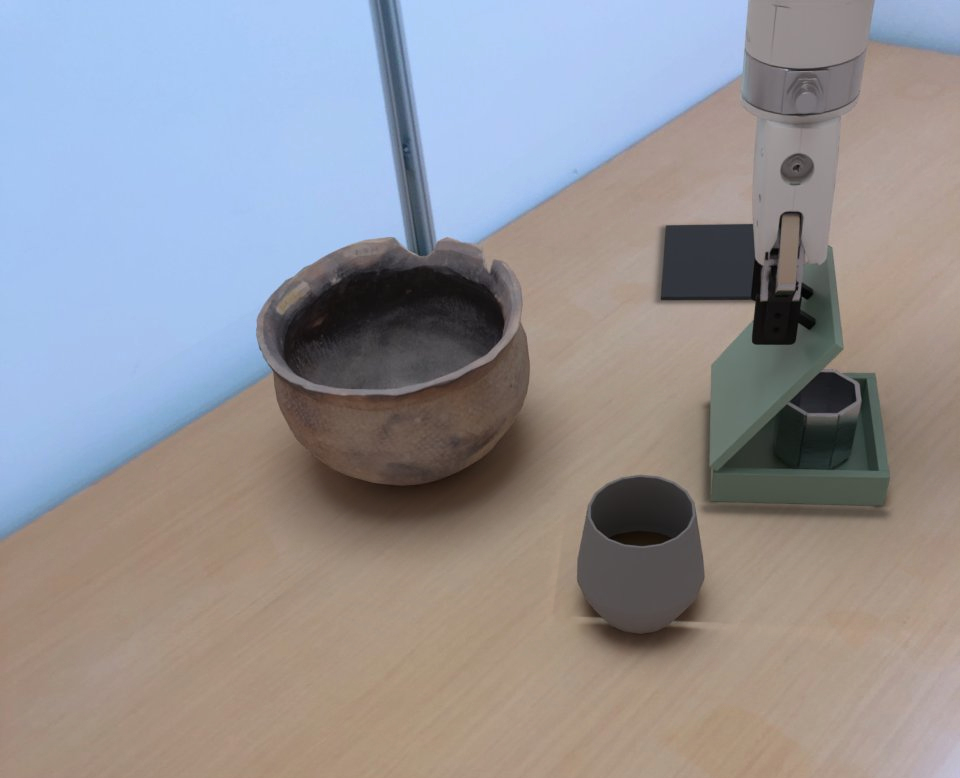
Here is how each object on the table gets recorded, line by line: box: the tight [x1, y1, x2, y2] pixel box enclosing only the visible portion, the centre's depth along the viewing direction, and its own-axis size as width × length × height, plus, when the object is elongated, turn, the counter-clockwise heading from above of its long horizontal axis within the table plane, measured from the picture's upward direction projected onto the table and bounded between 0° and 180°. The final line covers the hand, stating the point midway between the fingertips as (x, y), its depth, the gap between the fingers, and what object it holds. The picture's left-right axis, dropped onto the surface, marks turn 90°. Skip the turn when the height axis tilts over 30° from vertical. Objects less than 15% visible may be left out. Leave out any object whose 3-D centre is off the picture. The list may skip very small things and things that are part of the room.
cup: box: [576, 474, 706, 635], centre depth 81 cm, size 10×9×10 cm
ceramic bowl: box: [255, 236, 531, 486], centre depth 94 cm, size 22×22×15 cm
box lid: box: [708, 244, 845, 471], centre depth 86 cm, size 14×14×5 cm
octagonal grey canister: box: [774, 368, 862, 470], centre depth 91 cm, size 6×6×6 cm
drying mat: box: [660, 223, 755, 301], centre depth 114 cm, size 14×14×1 cm
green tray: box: [709, 372, 891, 507], centre depth 93 cm, size 14×14×4 cm
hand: (772, 318), depth 84 cm, fingers closed on box lid, 5 cm apart
